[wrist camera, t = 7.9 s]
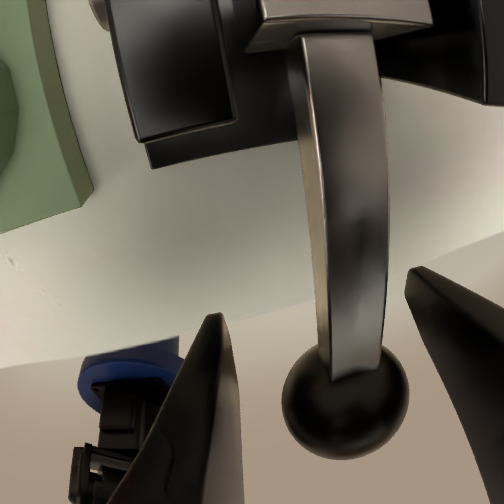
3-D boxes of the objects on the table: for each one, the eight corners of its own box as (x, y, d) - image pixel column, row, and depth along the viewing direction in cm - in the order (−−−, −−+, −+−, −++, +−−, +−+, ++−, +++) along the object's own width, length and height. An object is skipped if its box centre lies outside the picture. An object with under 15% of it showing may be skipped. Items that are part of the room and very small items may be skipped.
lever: (375, 375, 9) (414, 454, 7) (279, 401, 9) (299, 490, 6) (346, -64, 4) (426, -130, 1) (189, -57, 4) (176, -153, 1)
